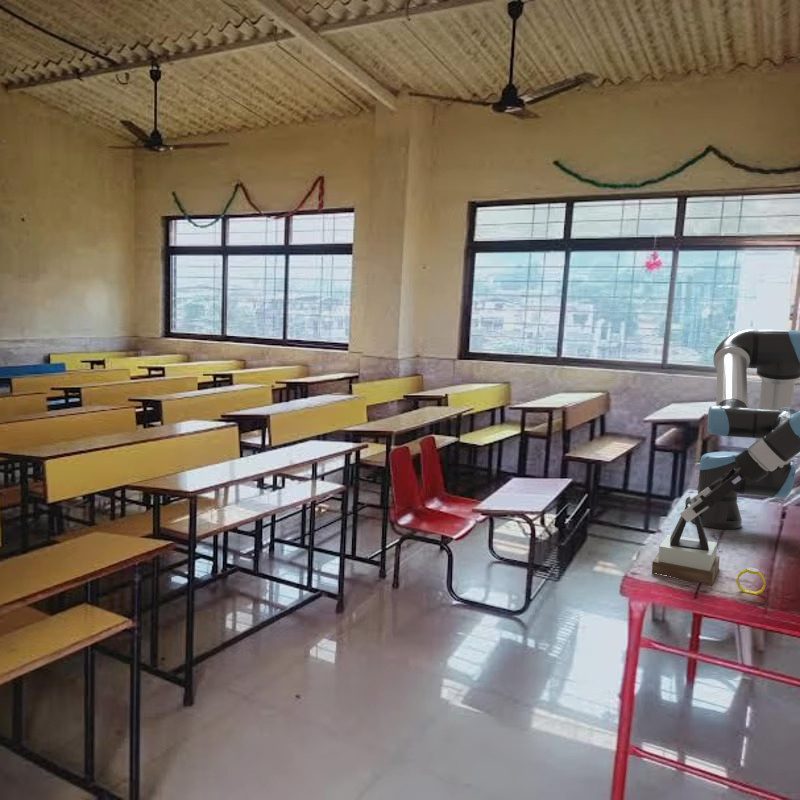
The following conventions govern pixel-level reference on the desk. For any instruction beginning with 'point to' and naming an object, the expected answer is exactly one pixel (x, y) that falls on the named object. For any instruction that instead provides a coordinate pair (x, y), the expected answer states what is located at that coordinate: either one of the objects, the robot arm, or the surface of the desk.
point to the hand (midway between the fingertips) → (687, 511)
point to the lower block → (686, 571)
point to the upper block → (687, 555)
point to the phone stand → (678, 542)
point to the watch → (752, 571)
